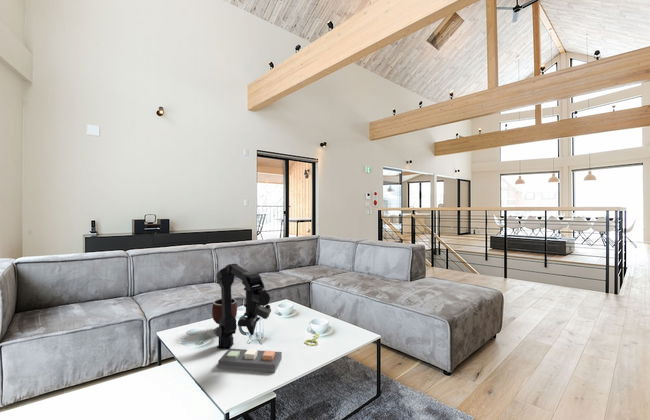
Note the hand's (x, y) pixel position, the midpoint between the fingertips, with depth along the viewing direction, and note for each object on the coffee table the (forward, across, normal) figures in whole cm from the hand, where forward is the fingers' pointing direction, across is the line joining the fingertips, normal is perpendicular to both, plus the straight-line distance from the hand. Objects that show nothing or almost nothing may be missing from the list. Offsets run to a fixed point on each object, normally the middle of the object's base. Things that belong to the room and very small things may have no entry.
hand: (252, 334), depth 142 cm
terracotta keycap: (+11, +1, -8) cm, 13 cm away
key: (+14, +30, -24) cm, 41 cm away
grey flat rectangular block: (+14, +1, +1) cm, 14 cm away
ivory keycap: (+11, +1, +1) cm, 11 cm away
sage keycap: (+12, 0, +9) cm, 15 cm away
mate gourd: (+13, +35, +30) cm, 48 cm away
